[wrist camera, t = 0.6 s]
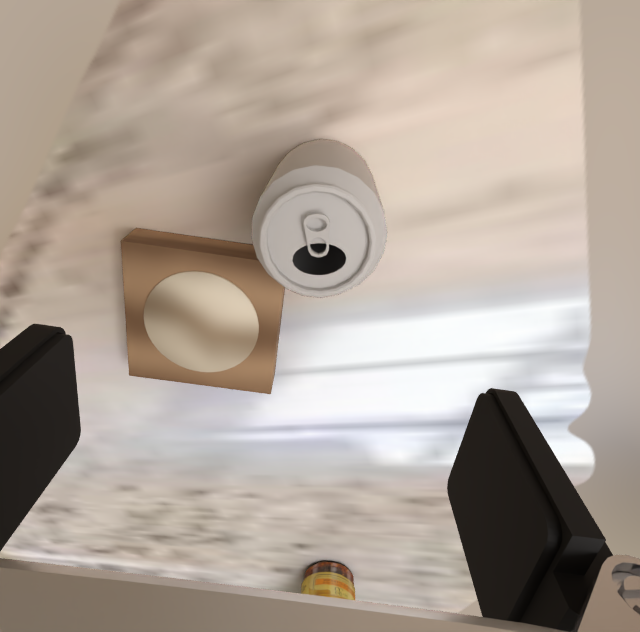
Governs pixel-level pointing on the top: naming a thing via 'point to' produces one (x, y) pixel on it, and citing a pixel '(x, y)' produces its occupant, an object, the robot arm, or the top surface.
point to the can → (320, 220)
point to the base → (200, 311)
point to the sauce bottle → (329, 581)
